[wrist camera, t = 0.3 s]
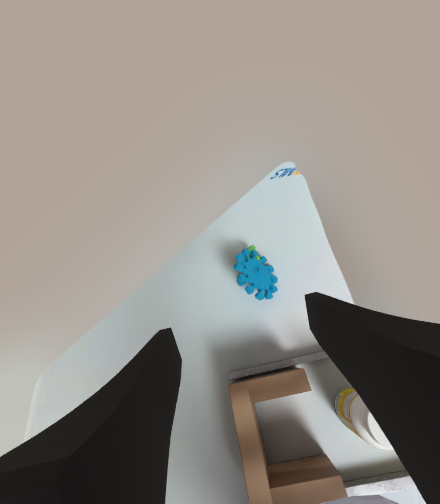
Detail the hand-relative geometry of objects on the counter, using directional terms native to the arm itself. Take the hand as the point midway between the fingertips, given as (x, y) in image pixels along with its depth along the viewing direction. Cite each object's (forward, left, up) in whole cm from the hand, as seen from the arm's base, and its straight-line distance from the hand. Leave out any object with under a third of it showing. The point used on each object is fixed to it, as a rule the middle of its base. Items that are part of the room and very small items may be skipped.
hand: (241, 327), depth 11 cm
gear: (+13, -4, -29) cm, 32 cm away
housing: (-10, -1, -29) cm, 30 cm away
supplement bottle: (-10, -12, -29) cm, 33 cm away
